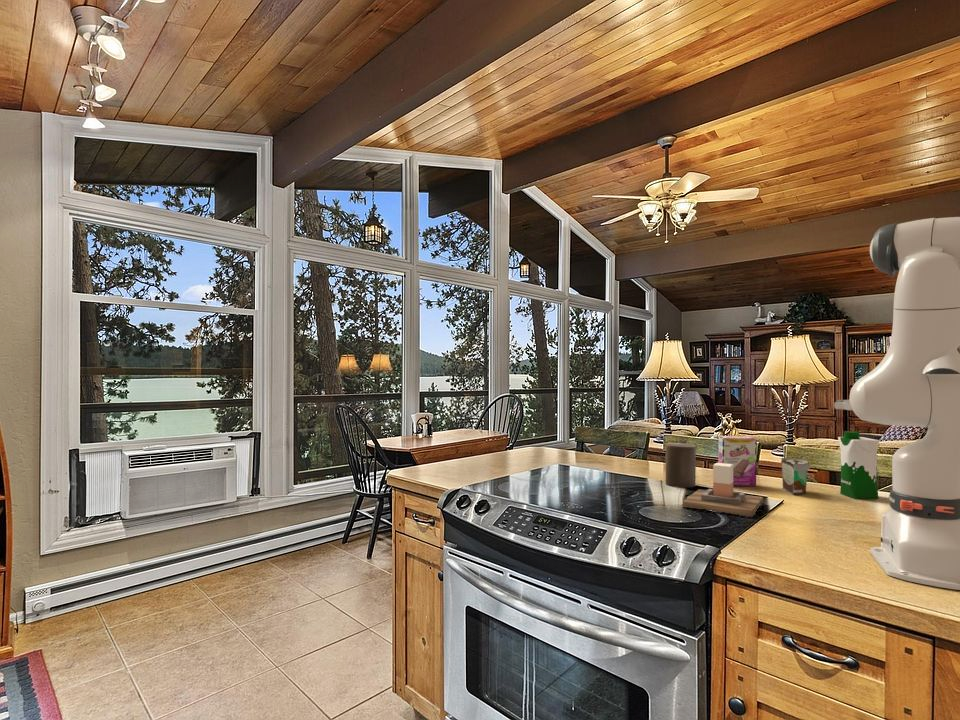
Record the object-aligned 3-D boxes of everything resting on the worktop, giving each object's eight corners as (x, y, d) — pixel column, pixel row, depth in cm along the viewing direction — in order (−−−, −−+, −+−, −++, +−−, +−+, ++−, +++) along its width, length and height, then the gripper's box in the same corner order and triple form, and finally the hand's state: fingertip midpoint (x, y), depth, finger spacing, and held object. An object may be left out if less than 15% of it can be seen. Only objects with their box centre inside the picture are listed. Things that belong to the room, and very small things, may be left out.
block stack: (730, 501, 154) (729, 466, 154) (713, 499, 157) (713, 465, 157) (733, 498, 158) (733, 464, 158) (716, 496, 160) (716, 462, 161)
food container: (816, 497, 167) (816, 464, 167) (794, 496, 169) (794, 464, 169) (801, 488, 179) (801, 457, 180) (781, 487, 181) (781, 457, 181)
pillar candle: (672, 487, 181) (672, 442, 181) (661, 481, 190) (661, 438, 190) (700, 487, 181) (701, 443, 181) (688, 481, 191) (688, 438, 191)
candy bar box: (722, 486, 183) (722, 437, 183) (717, 483, 188) (717, 435, 188) (757, 486, 181) (757, 438, 182) (751, 483, 186) (751, 436, 187)
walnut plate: (752, 518, 145) (752, 505, 145) (682, 508, 155) (682, 495, 155) (762, 503, 159) (762, 492, 159) (698, 495, 170) (698, 484, 170)
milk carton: (835, 492, 172) (834, 430, 173) (864, 492, 172) (863, 430, 172) (853, 499, 164) (853, 433, 164) (884, 499, 163) (883, 433, 164)
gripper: (896, 392, 150) (836, 391, 158) (900, 396, 134) (833, 394, 142) (896, 415, 150) (837, 412, 158) (900, 421, 134) (833, 418, 142)
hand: (835, 404), depth 150 cm, fingers open, 8 cm apart
